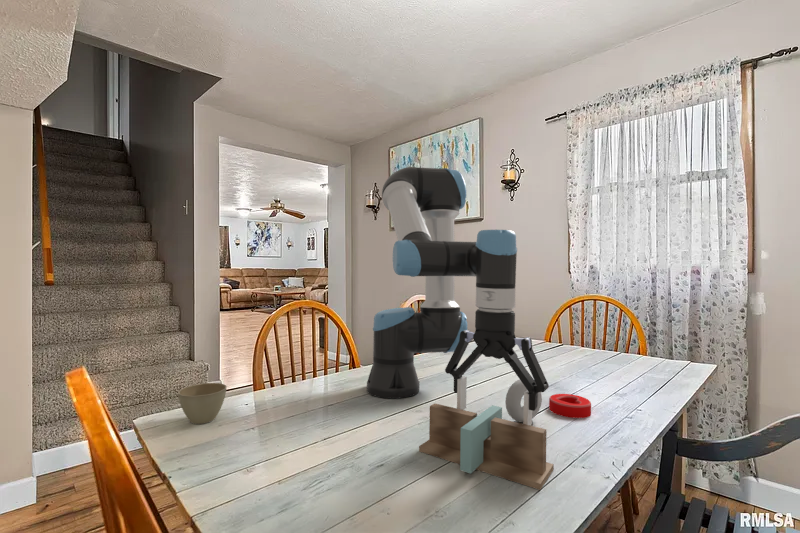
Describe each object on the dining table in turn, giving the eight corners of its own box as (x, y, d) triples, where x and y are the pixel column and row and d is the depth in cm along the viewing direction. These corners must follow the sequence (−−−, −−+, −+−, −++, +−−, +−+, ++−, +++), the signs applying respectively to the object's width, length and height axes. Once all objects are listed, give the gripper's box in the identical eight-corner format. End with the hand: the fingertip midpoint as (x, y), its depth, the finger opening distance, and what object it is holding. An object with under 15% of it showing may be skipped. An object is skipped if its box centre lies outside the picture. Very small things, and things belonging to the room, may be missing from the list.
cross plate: (470, 473, 68) (471, 430, 68) (460, 470, 69) (460, 427, 69) (501, 444, 79) (502, 407, 79) (492, 441, 81) (492, 405, 81)
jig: (419, 451, 78) (419, 409, 78) (439, 437, 85) (439, 398, 85) (540, 490, 65) (540, 440, 65) (553, 469, 72) (554, 424, 72)
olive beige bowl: (216, 409, 100) (217, 380, 100) (233, 420, 93) (233, 389, 93) (171, 419, 93) (172, 388, 93) (186, 432, 86) (186, 398, 86)
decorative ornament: (541, 406, 105) (542, 394, 105) (575, 404, 107) (575, 392, 107) (563, 420, 96) (563, 406, 96) (599, 417, 97) (600, 404, 97)
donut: (512, 428, 90) (512, 383, 90) (501, 422, 93) (502, 379, 93) (545, 420, 95) (545, 377, 94) (533, 415, 98) (534, 374, 98)
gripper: (430, 305, 83) (428, 408, 84) (556, 317, 69) (553, 441, 69) (447, 302, 89) (445, 398, 90) (567, 313, 75) (564, 427, 75)
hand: (492, 417), depth 79 cm, fingers open, 13 cm apart
